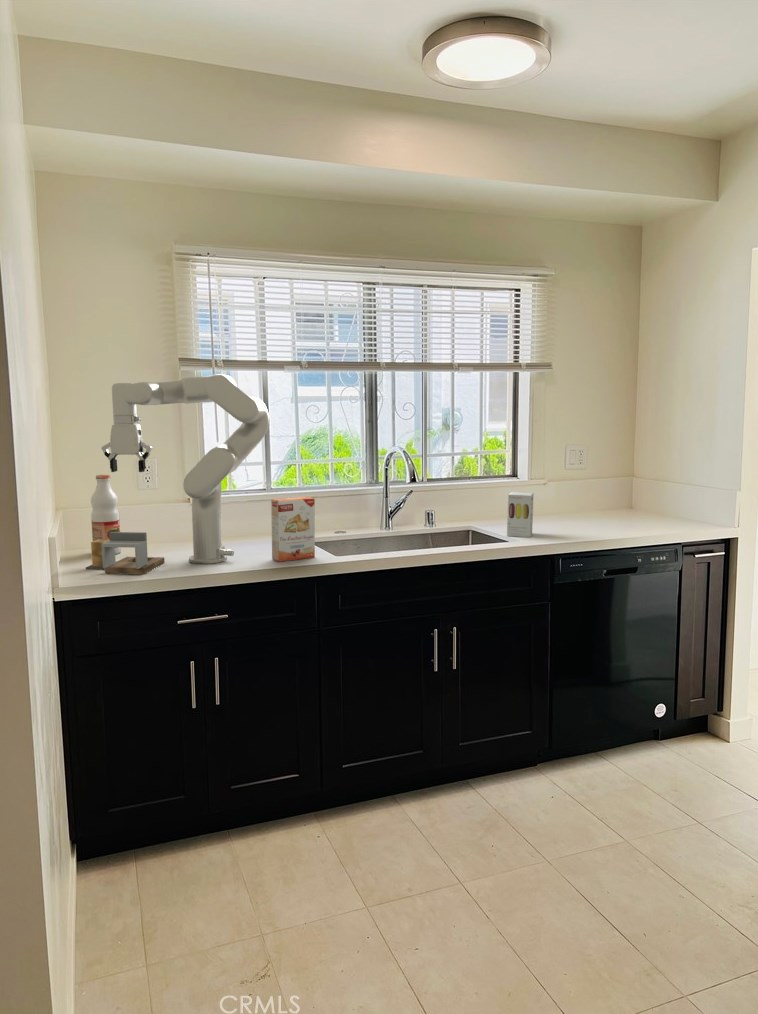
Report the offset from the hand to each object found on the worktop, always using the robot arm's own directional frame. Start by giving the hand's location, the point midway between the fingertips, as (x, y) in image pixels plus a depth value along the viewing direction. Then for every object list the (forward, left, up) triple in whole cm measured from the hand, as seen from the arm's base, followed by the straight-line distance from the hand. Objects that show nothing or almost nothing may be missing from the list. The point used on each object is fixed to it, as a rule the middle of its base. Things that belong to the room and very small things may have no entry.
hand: (128, 471), depth 251 cm
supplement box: (-135, -61, -31) cm, 151 cm away
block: (+5, +11, -30) cm, 32 cm away
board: (-6, +12, -30) cm, 33 cm away
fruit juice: (+14, -10, -31) cm, 35 cm away
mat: (+5, +11, -30) cm, 33 cm away
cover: (-6, +19, -28) cm, 34 cm away
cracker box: (-54, -8, -31) cm, 63 cm away
